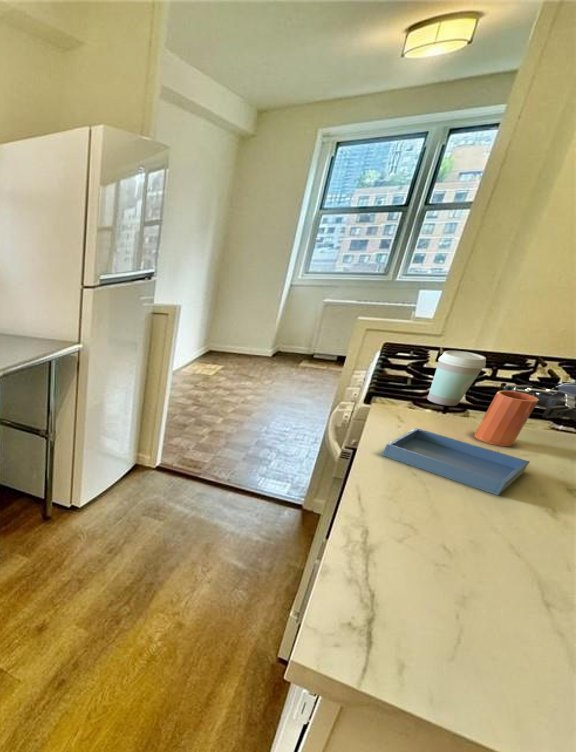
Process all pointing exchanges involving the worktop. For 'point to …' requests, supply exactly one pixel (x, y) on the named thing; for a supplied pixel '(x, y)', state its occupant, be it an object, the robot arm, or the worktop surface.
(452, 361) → the coffee cup
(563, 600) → the worktop surface
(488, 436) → the tumbler
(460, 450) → the tray
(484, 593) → the worktop surface
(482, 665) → the worktop surface
